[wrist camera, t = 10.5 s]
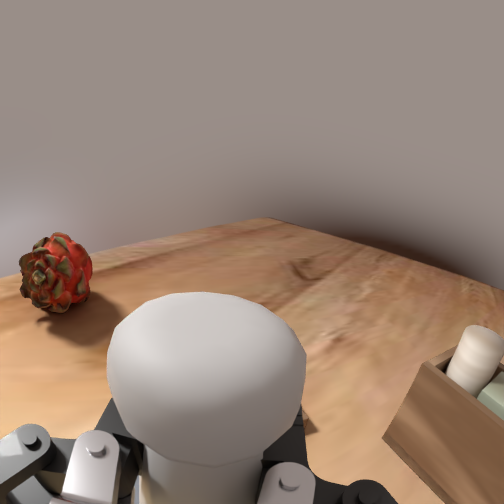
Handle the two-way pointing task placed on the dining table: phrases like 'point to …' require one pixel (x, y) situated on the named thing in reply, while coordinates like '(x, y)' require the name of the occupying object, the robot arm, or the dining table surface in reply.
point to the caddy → (456, 421)
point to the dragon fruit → (56, 273)
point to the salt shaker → (204, 393)
